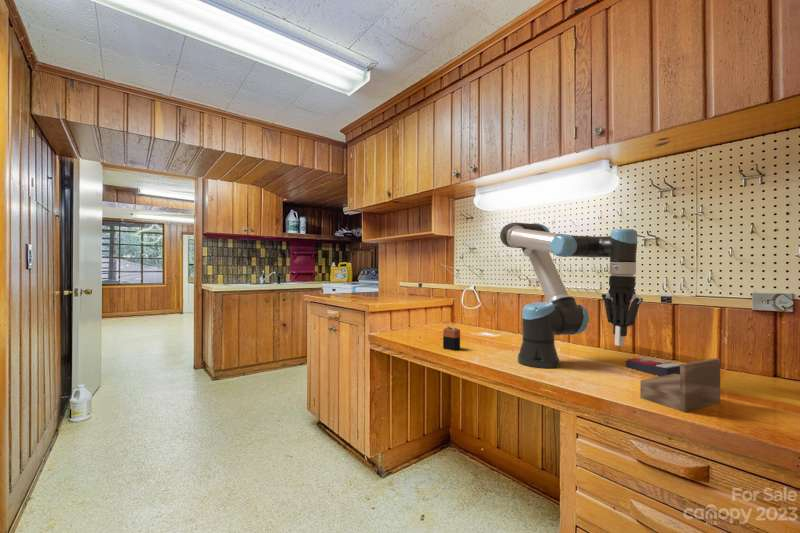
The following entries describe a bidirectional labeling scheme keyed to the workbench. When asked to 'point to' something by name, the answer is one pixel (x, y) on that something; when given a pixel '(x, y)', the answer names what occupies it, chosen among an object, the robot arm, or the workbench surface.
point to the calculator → (653, 366)
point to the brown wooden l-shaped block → (685, 386)
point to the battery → (451, 338)
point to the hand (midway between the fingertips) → (619, 345)
